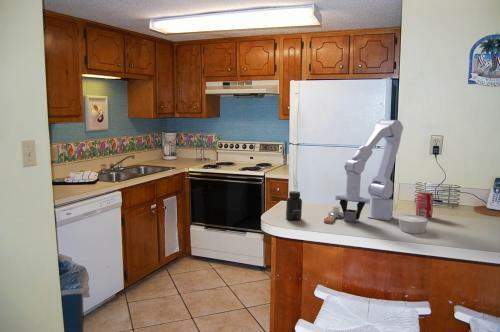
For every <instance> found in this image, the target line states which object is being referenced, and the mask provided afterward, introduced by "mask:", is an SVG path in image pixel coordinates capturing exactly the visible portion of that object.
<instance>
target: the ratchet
mask: <svg viewBox="0 0 500 332" xmlns="http://www.w3.org/2000/svg"><path fill="white" fill-rule="evenodd" d="M327 214H328V216H326V217H325V218H324V219H323V223H324V224H330V225H332V224H333V223H334V222H335V220H337V219H344V214H343V211H341V206H338V205H334V206H332V211H329V212H328V213H327Z"/></svg>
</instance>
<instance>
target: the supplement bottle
mask: <svg viewBox="0 0 500 332" xmlns="http://www.w3.org/2000/svg"><path fill="white" fill-rule="evenodd" d="M288 193H289V195H288V196H289V197H287V199H286V205H285V206H286V208H285V209H286V210H285V219H287V220H289V221H294V222H295V221H300V220H301V219H302V212H303V200H302V198H301V192H300V191H297V190H291V191H289V192H288Z"/></svg>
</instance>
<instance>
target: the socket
mask: <svg viewBox="0 0 500 332" xmlns="http://www.w3.org/2000/svg"><path fill="white" fill-rule="evenodd" d="M359 221H360V218H359V219H357V209H349V208H347V210H346V211H345V216H344V218H343V222H345V223H351V224H357V223H358V222H359Z"/></svg>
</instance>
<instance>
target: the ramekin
mask: <svg viewBox="0 0 500 332" xmlns="http://www.w3.org/2000/svg"><path fill="white" fill-rule="evenodd" d="M397 219H398V224H399V230H400V231H402V232H404V233H407V234H412V235H413V234H415V235H417V234H418V235H420V234H423V233H425V232H426V230H427V226H428V225H427V224H428V223H429V219H426V218H424V217H421V216H416V214H403V215H402V214H401V215H399V216H398V218H397Z"/></svg>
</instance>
